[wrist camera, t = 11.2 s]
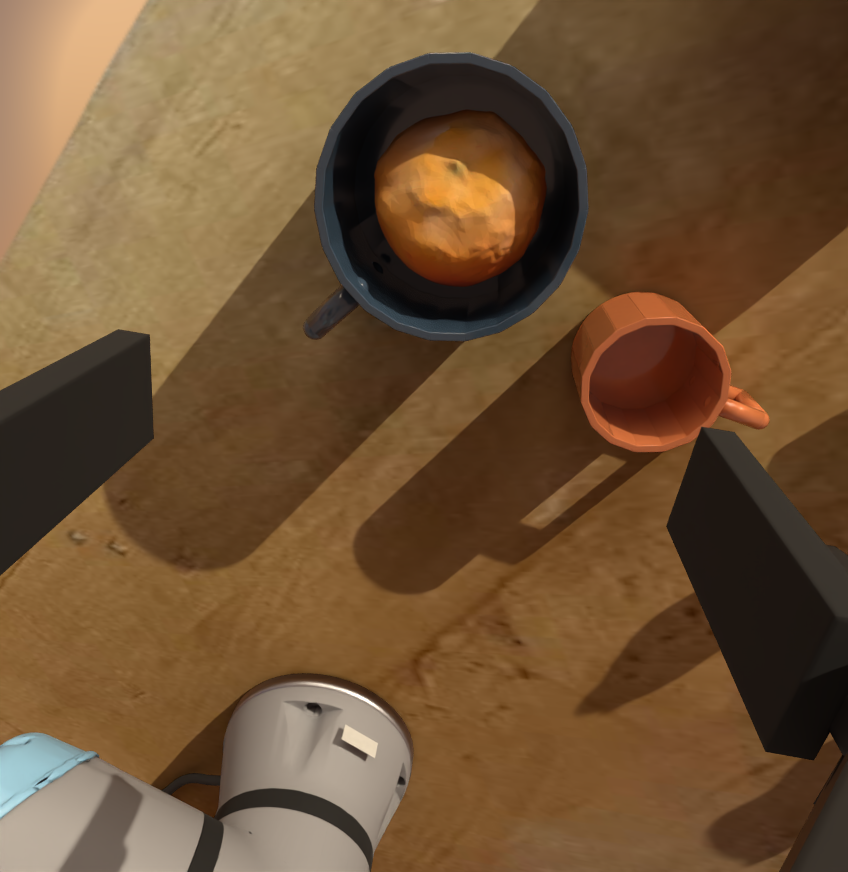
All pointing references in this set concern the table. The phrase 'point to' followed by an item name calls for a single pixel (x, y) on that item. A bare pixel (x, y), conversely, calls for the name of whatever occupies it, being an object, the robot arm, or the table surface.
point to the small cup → (654, 375)
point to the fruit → (459, 197)
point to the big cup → (358, 223)
